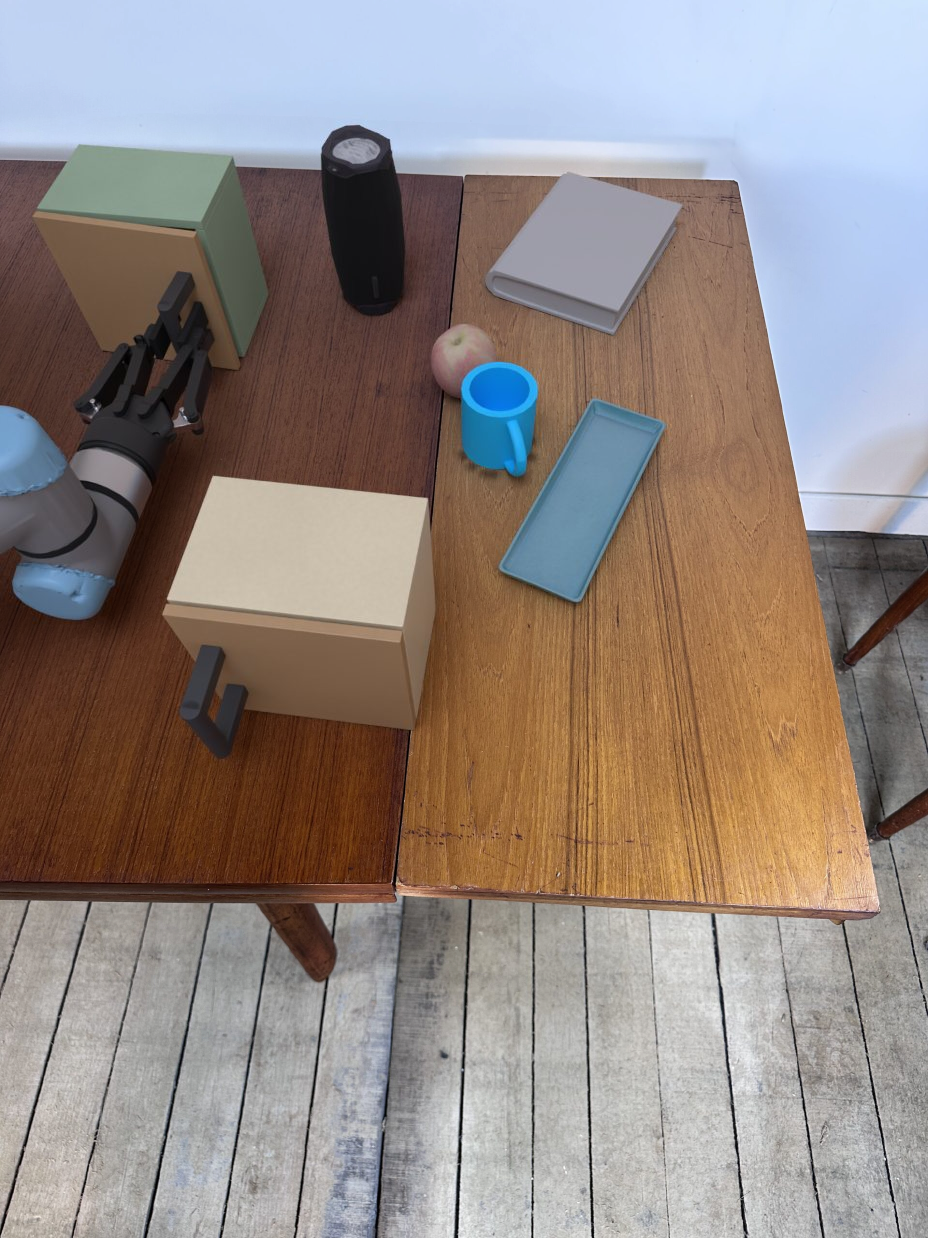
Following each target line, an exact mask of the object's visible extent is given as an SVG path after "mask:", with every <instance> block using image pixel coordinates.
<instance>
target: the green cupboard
mask: <svg viewBox="0 0 928 1238" xmlns="http://www.w3.org/2000/svg"><path fill="white" fill-rule="evenodd" d="M36 211H41V212H48V213H56V214H64V215H72V216H79V217H87V218H95V219H103V220H111V221H118V222H126V223H134V224H142V225H149V226H157V227H165V228H173V229H180V230H188V231H196V232H197V233H198V236H199V239H200V242H201V245H202V248H203V251H204V254H205V257H206V260H207V264H208V267H209V270H210V273H211V276H212V279H213V282H214V285H215V288H216V291H217V294H218V297H219V300H220V303H221V306H222V309H223V312H224V315H225V318H226V321H227V324H228V327H229V330H230V333H231V336H232V340H233V343H234V346H235V349H236V352H237V355H238V358H245V356H246V354H247V352H248V349H249V347H250V344H251V342H252V338H253V336H254V333H255V331H256V329H257V326H258V324H259V320H260V318H261V316H262V314H263V313H262V312H263V310H264V307H265V305H266V302H267V300H268V297H269V295H270V293H269V289H268V286H267V282H266V278H265V274H264V270H263V266H262V262H261V259H260V254H259V251H258V247H257V243H256V239H255V235H254V231H253V228H252V224H251V221H250V220H251V219H250V216H249V213H248V209H247V205H246V201H245V197H244V194H243V190H242V186H241V181H240V179H239V175H238V171H237V166H236V163H235V159H234V156H233V155H225V154H214V153H200V152H188V151H186V152H185V151H176V150H175V151H174V150H173V151H172V150H162V149H161V150H160V149H146V148H135V147H134V148H133V147H120V146H106V145H93V144H81V143H79V144H78V145H77V146H76V148H75V150H74V151H73V152H72V154H71V156H70V157H69V158H68V160H67V161H66V163H65V164H64V166H63V168H62V169H61V170H60V172H59V173H58V175H57V176H56V178H55V179H54V181H53V182H52V184H51V186H50V187H49V189H48V190H47V191H46V193H45V195H44V196H43V198H42V199H41V200H40V202H39V204H38V205H37V206H36Z"/></svg>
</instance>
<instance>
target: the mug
mask: <svg viewBox="0 0 928 1238" xmlns="http://www.w3.org/2000/svg"><path fill="white" fill-rule="evenodd" d="M538 393H539V388H538V384H537V380H536V379H535V377H534V376H533V375H532V374H531V372H529V371H528V370H527V369H526V368H524V367H522V366H520V365H517V364H514V363H511V362H504V361H498V362H493V363H486V364H483V365H481V366H478V367H476V368H475V369H473V370H472V371H470V372H469V373H468V374H467V376H466V377H465V379H464V380H463V383H462V388H461V398H460V400H461V401H460V404H461V406H460V407H461V409H460V410H461V411H460V413H461V415H460V416H461V446H462V450H463V452H464V454H465V455H466V457H467V458H468V459H469V460H470V461H471V462H473V463H474V464H475V465H478V466H479V467H483V468H485V469H489V470H491V469H492V470H506V471H507V472H508V473H509V475H511V476H513V477H515V478H519V477H521V476H523V475H525V473H526V470H527V466H528V456H529V455H530V453H531V451H532V448H533V441H534V430H535V421H536V411H537V403H538V402H537V401H538Z"/></svg>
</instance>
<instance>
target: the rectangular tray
mask: <svg viewBox="0 0 928 1238" xmlns="http://www.w3.org/2000/svg"><path fill="white" fill-rule="evenodd" d="M666 427H667V425H666V422H665V421H663V420H661V419H657V418H655V417H652V416H649V415H646V414H642V413H640V412H637V411H634V410H631V409H628V408H626V407H622V406H620V405H616V404H613V403H611V402H608V401H605V400H602V399H599V398H595V397H594V398H591V399H590V400H589V403H588V404H587V407H586V408H585V410H584V412H583V413H582V415H581V417H580V419H579V421H578V423H577V424H576V426H575V428H574V429H573V431H572V433H571V436H569V439H568V441H567V442H566V444H565V446H564V448H563V450H562V451H561V454H560V455H559V457H558V459H557V460H556V462H555V464H554V466H553V468H552V470H551V471H550V473H549V475H548V477H547V478H546V480H545V482H544V484H543V486H542V487H541V489H540V491H539V492H538V494H537V497H536V498H535V499H534V502H533V503H532V505H531V507H530V508H529V510H528V512H527V514H526V516H525V517H524V519H523V521H522V523H521V525H520V526H519V528H518V530H517V532H516V534H515V535H514V537H513V539H512V541H511V542H510V545H509V546H508V548H507V550H506V551H505V553H504V556H503V557H502V559H501V560H500V562H499V563H498V570H499V571H500V572H501V573H503V574H504V575H506V576H507V577H510V578H512V579H514V580H516V581H518V582H519V581H520V582H522V583H524V584H527V585H529V586H531V587H533V588H536V589H538V590H541V591H543V592H545V593H548V594H550V595H553V596H555V597H558V598H560V599H562V600H564V601H566V602H570V603H575V604H576V603H581V602H582V600H583V598H584V596H585V594H586V592H587V590H588V588H589V585H590V583H591V581H592V578H593V577H594V574H595V572H596V570H597V568H598V566H599V565H600V562H601V560H602V558H603V557H604V554H605V552H606V549H607V547H608V546H609V543H610V541H611V539H612V537H613V535H614V533H615V531H616V529H617V527H618V525H619V523H620V522H621V519H622V516H623V515H624V513H625V511H626V509H627V506H628V504H629V503H630V501H631V498H632V496H633V494H634V492H635V491H636V488H637V486H638V484H639V482H640V479H641V477H642V476H643V474H644V471H645V469H646V468H647V465H648V463H649V461H650V459H651V457H652V455H653V453H654V451H655V449H656V447H657V446H658V443H659V441H660V439H661V437H662V435H663V433H664V432H665V430H666Z"/></svg>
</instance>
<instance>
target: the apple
mask: <svg viewBox="0 0 928 1238" xmlns="http://www.w3.org/2000/svg"><path fill="white" fill-rule="evenodd" d="M493 362H499V359H498V352H497V350H496V348H495V345H494V342H493V341H492V339H491V338H490V337H489V335H488V334H487V332H485V331H484V330H482V328H480V327H478V326H476V325H473V324H468V323H460V324H456V325H454V326H452V327H450V328H448V329H446V331H445V332H442V334H440V336H439V337H438V338H437V339H436V341H435V342H434V344H433V346H432V350H431V355H430V367H431V371H432V374H433V376H434V380H435V381H436V383H437V385H438V386H439V387H440V388H441V390H443V391H444V392H445V393H446V394H448V395H449V396H451V397H454V398H456V399H461V388H462V383H463V380H464V379H465V377H466V376H467V374H468V373H469V372H470V371H472V370H473V369H475V368H476V367H478V366H481V365H483V364H486V363H493Z"/></svg>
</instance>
